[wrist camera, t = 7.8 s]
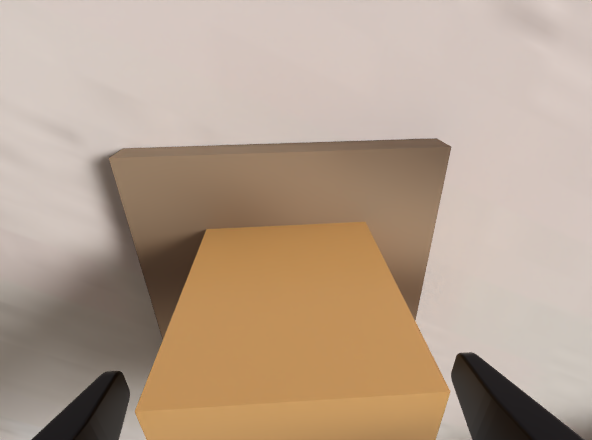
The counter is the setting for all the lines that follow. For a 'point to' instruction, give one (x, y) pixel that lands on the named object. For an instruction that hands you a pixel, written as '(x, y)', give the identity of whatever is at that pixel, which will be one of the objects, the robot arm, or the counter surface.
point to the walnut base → (279, 201)
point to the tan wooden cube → (292, 344)
